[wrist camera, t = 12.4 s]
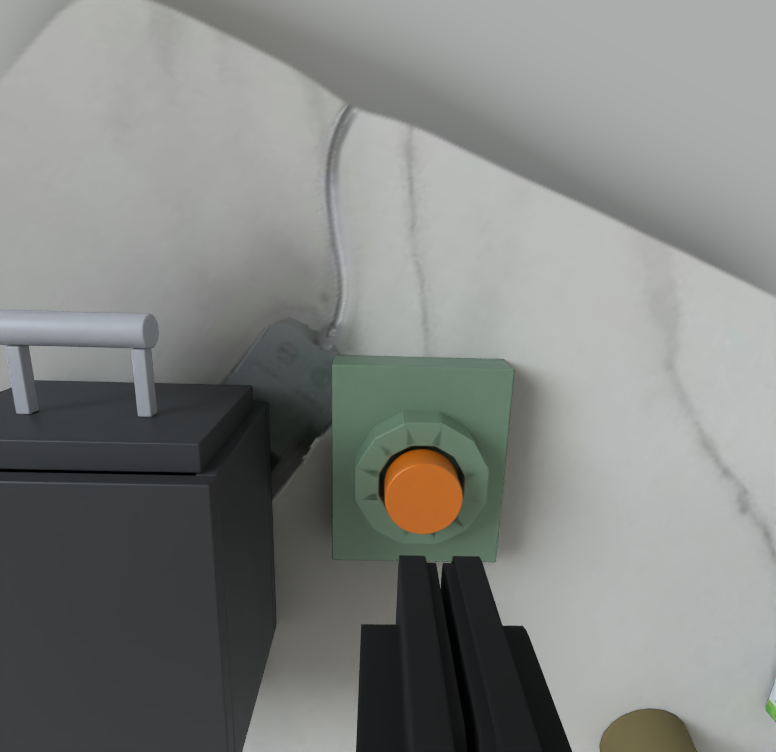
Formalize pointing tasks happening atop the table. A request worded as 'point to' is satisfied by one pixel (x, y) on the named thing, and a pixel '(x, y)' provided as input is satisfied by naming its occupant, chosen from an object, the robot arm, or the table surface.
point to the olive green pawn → (647, 733)
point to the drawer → (107, 404)
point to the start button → (422, 491)
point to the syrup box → (772, 703)
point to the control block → (411, 432)
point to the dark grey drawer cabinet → (137, 604)
